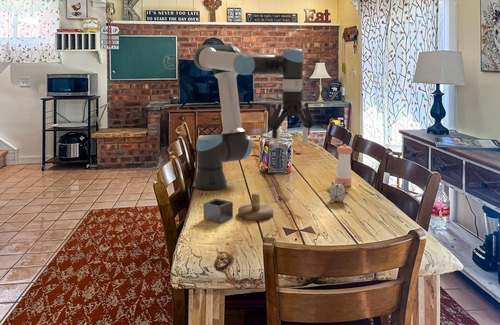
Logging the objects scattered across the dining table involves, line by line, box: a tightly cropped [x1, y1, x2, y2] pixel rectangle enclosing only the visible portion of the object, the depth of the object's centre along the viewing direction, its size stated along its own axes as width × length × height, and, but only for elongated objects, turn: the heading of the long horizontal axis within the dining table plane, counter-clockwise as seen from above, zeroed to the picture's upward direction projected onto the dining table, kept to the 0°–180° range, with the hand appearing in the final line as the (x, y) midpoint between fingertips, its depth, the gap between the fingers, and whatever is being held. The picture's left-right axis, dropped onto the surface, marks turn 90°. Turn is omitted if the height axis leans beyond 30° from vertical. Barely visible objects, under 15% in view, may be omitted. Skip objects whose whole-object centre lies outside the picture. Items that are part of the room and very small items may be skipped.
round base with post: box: [237, 192, 274, 222], centre depth 158 cm, size 13×13×8 cm
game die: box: [326, 181, 349, 204], centre depth 174 cm, size 9×8×10 cm
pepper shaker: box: [334, 143, 353, 187], centre depth 199 cm, size 7×7×19 cm
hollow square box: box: [202, 198, 234, 224], centre depth 154 cm, size 8×8×6 cm
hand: (290, 145), depth 168 cm, fingers open, 13 cm apart
